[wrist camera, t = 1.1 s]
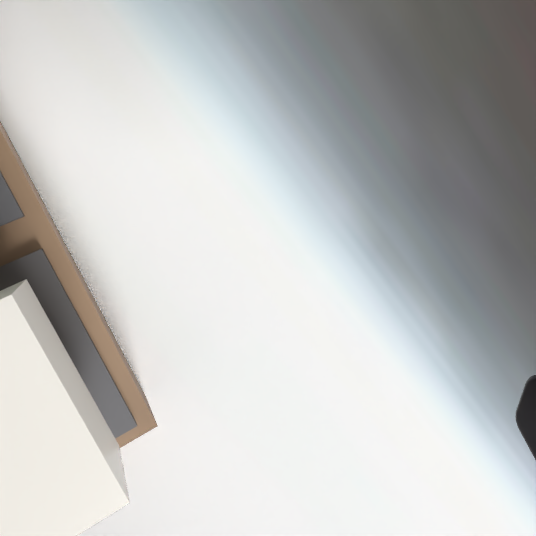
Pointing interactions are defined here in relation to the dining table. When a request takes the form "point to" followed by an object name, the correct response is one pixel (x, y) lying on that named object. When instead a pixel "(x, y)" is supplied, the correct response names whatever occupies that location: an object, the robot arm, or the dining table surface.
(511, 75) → the dining table surface
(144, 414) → the key panel
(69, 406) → the key white
